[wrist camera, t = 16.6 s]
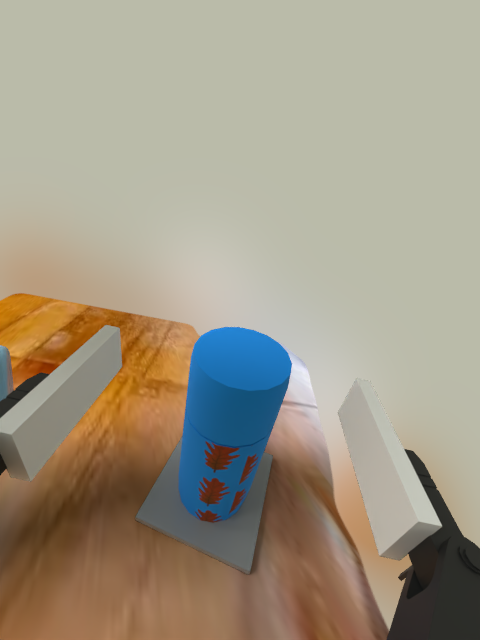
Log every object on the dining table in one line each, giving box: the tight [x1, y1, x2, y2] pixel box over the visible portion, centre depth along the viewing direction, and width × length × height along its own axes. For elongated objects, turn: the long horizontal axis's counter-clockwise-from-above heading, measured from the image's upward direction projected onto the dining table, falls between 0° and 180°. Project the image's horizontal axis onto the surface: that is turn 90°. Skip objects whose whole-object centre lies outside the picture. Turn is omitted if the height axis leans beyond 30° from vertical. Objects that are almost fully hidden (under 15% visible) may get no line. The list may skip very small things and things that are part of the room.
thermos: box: [178, 327, 292, 523], centre depth 33 cm, size 11×11×25 cm
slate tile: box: [135, 436, 273, 575], centre depth 39 cm, size 16×16×1 cm
